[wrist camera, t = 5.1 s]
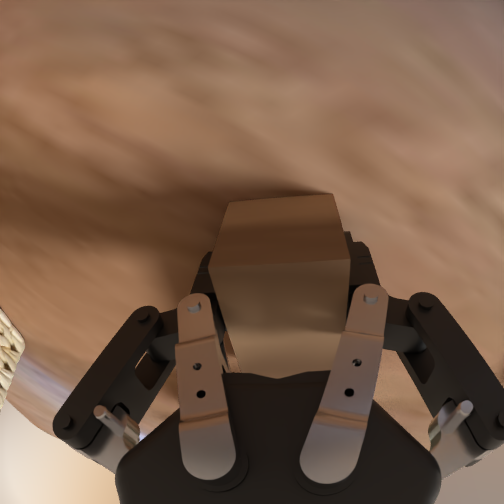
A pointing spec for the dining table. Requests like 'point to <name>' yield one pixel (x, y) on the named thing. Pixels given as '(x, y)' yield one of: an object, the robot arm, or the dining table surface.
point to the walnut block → (282, 283)
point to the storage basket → (8, 353)
